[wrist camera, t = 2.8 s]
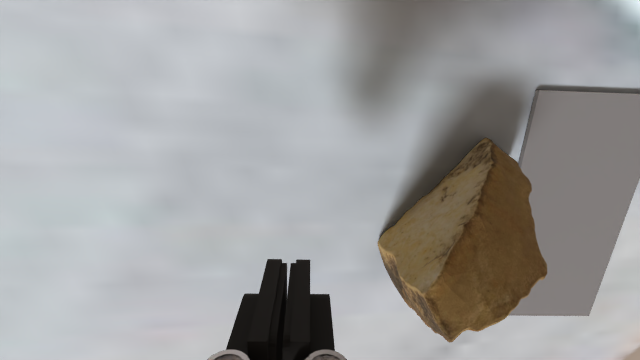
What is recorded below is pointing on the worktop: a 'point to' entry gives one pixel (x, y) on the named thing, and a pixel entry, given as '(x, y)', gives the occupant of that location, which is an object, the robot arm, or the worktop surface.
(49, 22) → the worktop surface
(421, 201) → the rock
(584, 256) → the rubber mat
